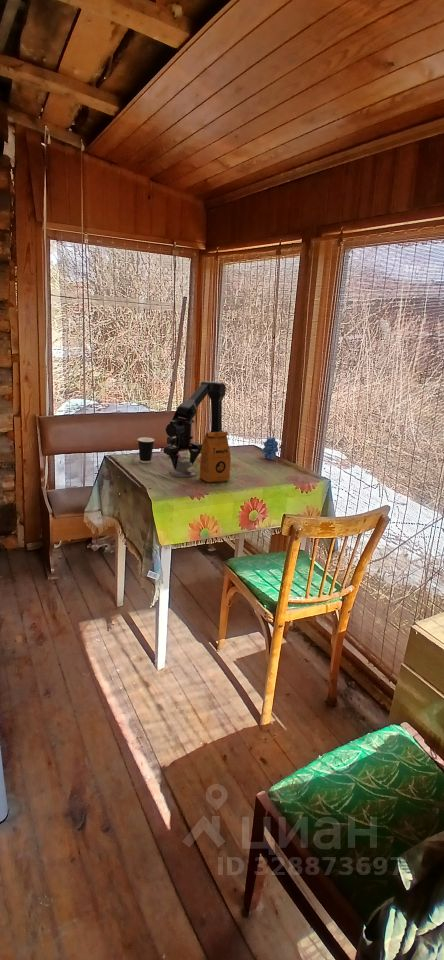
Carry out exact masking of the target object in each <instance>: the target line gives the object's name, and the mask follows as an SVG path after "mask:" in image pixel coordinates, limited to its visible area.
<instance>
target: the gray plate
mask: <svg viewBox="0 0 444 960" xmlns="http://www.w3.org/2000/svg"><path fill="white" fill-rule="evenodd" d="M168 472H169V475H171V476H173V477H176V478H182V479H183V478H193V477H195V476H196V475H197V472H196V470H195V472H191V474H190V475H186V474H182V473H180V472H178V471H175V470H174V468H172V469H169V471H168Z"/></svg>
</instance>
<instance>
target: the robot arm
mask: <svg viewBox="0 0 444 960" xmlns="http://www.w3.org/2000/svg"><path fill="white" fill-rule="evenodd" d="M226 392H227V386H226V384H225V383H224V382H220V381H208V380H202V381H201V382H200V384H199V386H198V388H197V389H196V390H195V391H194V392H193V394H192V395H191V396H190V397H189V398H188V399H187V400H185V401H182V403H180V404H179V405H178V406H177V409H176V410H175V412H174V415H173V416H172V419H171V420H170V421H169V424H167V425H166V427H165V433H166V434H167V438H166V444H167V445H168V446H166V445H165V446H164V448H163V453H164V454H165V455H167V456H169V458H170V460H171V463H172V467H173V469H176V467H177V462H178V456H179V455H177V454H178V452H179V451H186V450H188V453H189V461H190V462H192V466H193V465H194V463H195V462H196V459H197V458H198V457H199V455H201V450H202V444H203V443H202V444H201V443H199V442H191V441H192V440H193V438H194V436H192V425H193V424H194V423H195V420H194V417H195V416H196V414H197V409H198V406H199V405H200V404H201V403H202V402H203V400H205V398H206V396H207V395H208V397H209V399H210V401H211V405H210V406H211V430H210V432H224V431H223V424H222V423H223V421H222V420H223V419H222V418H223V412H222V411H223V399H224V398H225V396H226ZM174 436H176V438H172V437H174ZM173 445H175V446H177V448H176V447H173Z"/></svg>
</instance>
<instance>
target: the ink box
mask: <svg viewBox="0 0 444 960" xmlns="http://www.w3.org/2000/svg"><path fill="white" fill-rule="evenodd" d="M172 438H176V436H174V437H172ZM173 447H176V448H177V446H175V445H173ZM177 455H179V456H178V458H182V459H185V458H189V450H186V451H179V452H178V454H177Z"/></svg>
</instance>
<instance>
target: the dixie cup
mask: <svg viewBox="0 0 444 960" xmlns="http://www.w3.org/2000/svg"><path fill="white" fill-rule="evenodd" d="M154 441H155V438H152V437H139V438H137V443H138V444H137V445H138V453H139V454H138V455H139V461H140V463H141V464H149V463H151V461H152V457H153V450H154V444H155V443H154Z"/></svg>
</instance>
